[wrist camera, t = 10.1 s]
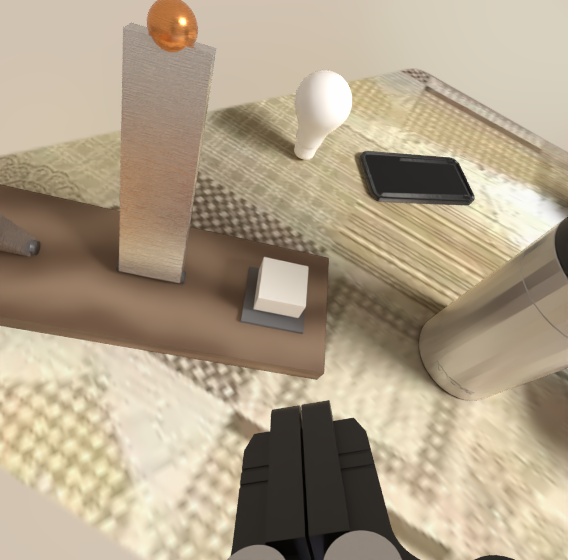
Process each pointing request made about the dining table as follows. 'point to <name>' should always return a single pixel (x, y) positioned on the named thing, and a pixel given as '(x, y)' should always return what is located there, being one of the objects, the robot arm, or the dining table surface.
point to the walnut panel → (155, 291)
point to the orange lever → (161, 139)
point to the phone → (415, 179)
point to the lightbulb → (320, 110)
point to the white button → (281, 287)
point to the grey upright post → (17, 239)
